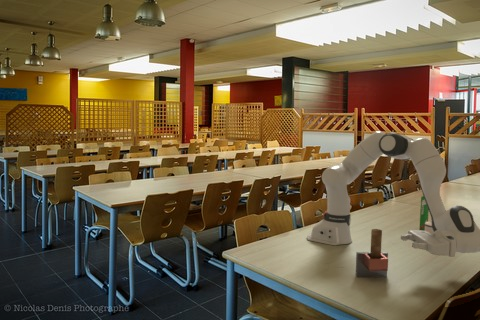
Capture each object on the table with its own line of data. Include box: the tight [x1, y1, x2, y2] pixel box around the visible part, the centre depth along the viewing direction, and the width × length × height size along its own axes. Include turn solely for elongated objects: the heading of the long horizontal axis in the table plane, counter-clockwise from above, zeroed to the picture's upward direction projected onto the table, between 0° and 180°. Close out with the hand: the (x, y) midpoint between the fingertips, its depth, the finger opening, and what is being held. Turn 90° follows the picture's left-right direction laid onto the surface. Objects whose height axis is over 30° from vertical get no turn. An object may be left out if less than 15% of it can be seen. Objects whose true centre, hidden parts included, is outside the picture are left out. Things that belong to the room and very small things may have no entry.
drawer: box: [355, 251, 389, 278], centre depth 151 cm, size 12×8×10 cm, turn 92°
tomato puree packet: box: [418, 195, 430, 231], centre depth 221 cm, size 15×1×20 cm, turn 139°
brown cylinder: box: [369, 228, 383, 258], centre depth 150 cm, size 4×4×14 cm
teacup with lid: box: [424, 220, 434, 234], centre depth 201 cm, size 12×9×12 cm
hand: (407, 241), depth 150 cm, fingers open, 8 cm apart
